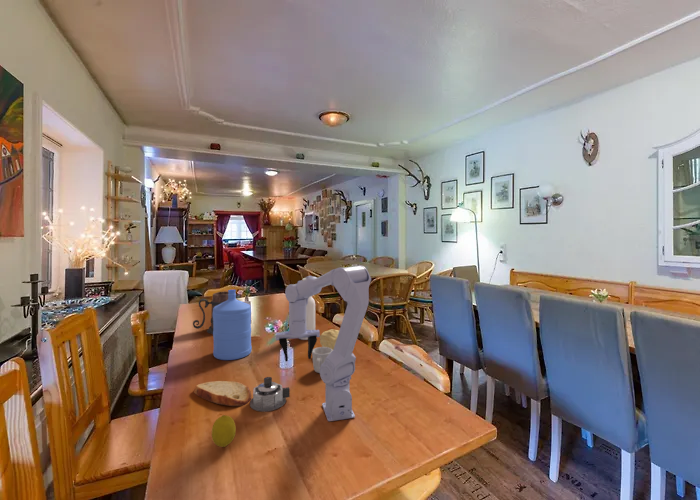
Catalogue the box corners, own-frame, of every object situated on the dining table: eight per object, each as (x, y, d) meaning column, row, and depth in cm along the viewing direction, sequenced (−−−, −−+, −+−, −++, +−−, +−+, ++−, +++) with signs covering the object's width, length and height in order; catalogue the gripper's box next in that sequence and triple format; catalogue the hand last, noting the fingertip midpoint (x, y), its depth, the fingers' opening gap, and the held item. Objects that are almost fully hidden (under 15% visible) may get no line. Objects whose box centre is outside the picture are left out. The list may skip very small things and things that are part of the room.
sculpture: (315, 353, 142) (315, 329, 142) (337, 347, 150) (337, 324, 150) (332, 361, 134) (332, 335, 133) (353, 354, 142) (353, 329, 141)
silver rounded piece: (279, 402, 99) (279, 382, 99) (257, 405, 98) (256, 384, 97) (278, 392, 106) (278, 373, 105) (257, 395, 104) (257, 375, 104)
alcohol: (296, 335, 167) (296, 277, 165) (313, 334, 169) (313, 276, 167) (298, 341, 158) (298, 280, 157) (316, 339, 161) (316, 279, 159)
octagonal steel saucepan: (290, 405, 99) (290, 393, 99) (253, 410, 96) (252, 398, 96) (288, 391, 108) (288, 380, 107) (253, 395, 105) (253, 384, 105)
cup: (327, 379, 117) (327, 358, 117) (306, 377, 119) (306, 356, 118) (335, 367, 128) (335, 347, 127) (315, 365, 129) (315, 346, 129)
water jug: (253, 357, 137) (252, 292, 135) (212, 363, 131) (211, 294, 130) (250, 345, 151) (249, 286, 150) (213, 350, 146) (212, 288, 144)
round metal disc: (287, 408, 98) (287, 407, 98) (249, 414, 95) (249, 412, 95) (284, 391, 108) (284, 390, 108) (250, 395, 106) (250, 394, 106)
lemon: (238, 439, 83) (238, 409, 83) (231, 454, 78) (231, 421, 77) (216, 439, 83) (216, 409, 83) (208, 454, 78) (207, 422, 77)
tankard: (237, 323, 188) (237, 289, 187) (242, 331, 173) (241, 294, 172) (192, 328, 177) (191, 292, 176) (193, 338, 162) (192, 298, 161)
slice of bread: (194, 388, 111) (194, 377, 111) (249, 380, 117) (249, 370, 117) (187, 416, 94) (186, 404, 94) (251, 406, 100) (251, 394, 100)
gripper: (317, 315, 115) (317, 352, 115) (275, 317, 111) (275, 356, 111) (320, 320, 108) (320, 360, 109) (276, 323, 104) (276, 364, 105)
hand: (297, 359), depth 110 cm, fingers open, 7 cm apart
